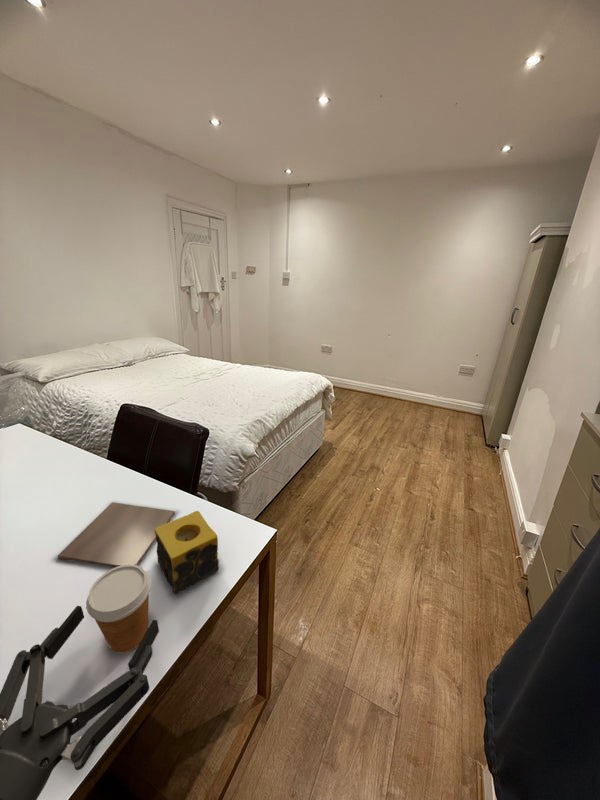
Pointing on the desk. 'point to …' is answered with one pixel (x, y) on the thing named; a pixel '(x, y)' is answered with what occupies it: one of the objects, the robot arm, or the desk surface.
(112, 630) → the disposable coffee cup
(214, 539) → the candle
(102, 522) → the placemat
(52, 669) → the desk surface
